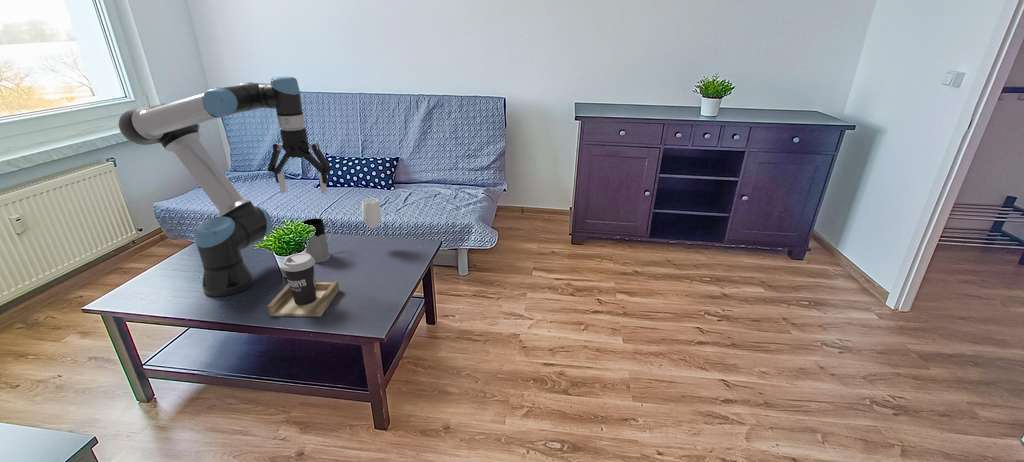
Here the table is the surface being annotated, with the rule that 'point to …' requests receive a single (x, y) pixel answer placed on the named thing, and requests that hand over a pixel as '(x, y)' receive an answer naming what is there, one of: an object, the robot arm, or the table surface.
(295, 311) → the tray
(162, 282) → the table surface
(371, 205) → the cup
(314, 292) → the coffee cup
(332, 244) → the table surface
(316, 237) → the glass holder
